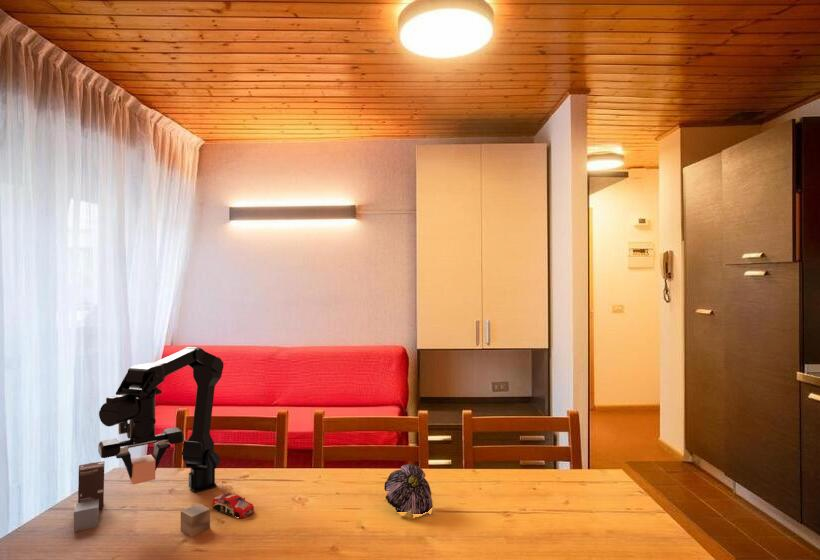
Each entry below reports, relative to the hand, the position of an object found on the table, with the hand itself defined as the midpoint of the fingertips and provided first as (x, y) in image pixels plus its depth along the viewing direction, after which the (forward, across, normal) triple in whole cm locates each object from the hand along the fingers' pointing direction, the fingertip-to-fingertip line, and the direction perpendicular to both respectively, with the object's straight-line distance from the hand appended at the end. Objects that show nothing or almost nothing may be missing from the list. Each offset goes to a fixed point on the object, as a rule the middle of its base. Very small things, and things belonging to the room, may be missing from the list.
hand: (142, 474), depth 123 cm
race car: (+14, -21, +7) cm, 26 cm away
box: (+13, +9, -18) cm, 24 cm away
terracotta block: (+1, 0, 0) cm, 1 cm away
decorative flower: (+13, -60, +37) cm, 72 cm away
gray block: (+13, +11, -9) cm, 19 cm away
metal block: (+13, -10, +11) cm, 20 cm away
